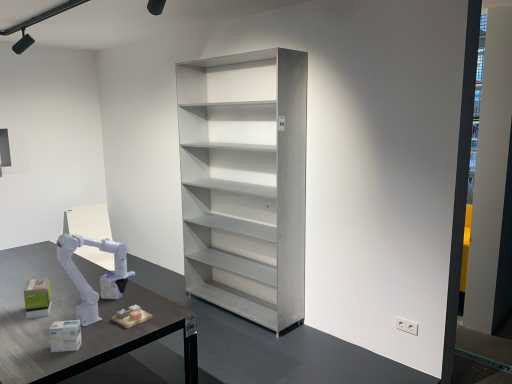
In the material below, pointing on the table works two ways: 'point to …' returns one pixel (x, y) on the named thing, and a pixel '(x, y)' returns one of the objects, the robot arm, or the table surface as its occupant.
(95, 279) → the table surface
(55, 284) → the table surface
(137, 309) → the tile two
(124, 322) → the button board
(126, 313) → the tile three
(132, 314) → the tile one
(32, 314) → the tea box
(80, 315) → the robot arm
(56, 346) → the light bulb box
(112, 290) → the ink cartridge box
